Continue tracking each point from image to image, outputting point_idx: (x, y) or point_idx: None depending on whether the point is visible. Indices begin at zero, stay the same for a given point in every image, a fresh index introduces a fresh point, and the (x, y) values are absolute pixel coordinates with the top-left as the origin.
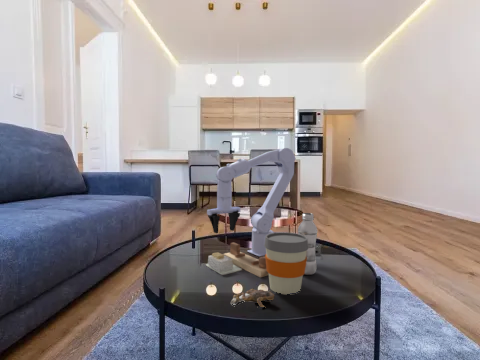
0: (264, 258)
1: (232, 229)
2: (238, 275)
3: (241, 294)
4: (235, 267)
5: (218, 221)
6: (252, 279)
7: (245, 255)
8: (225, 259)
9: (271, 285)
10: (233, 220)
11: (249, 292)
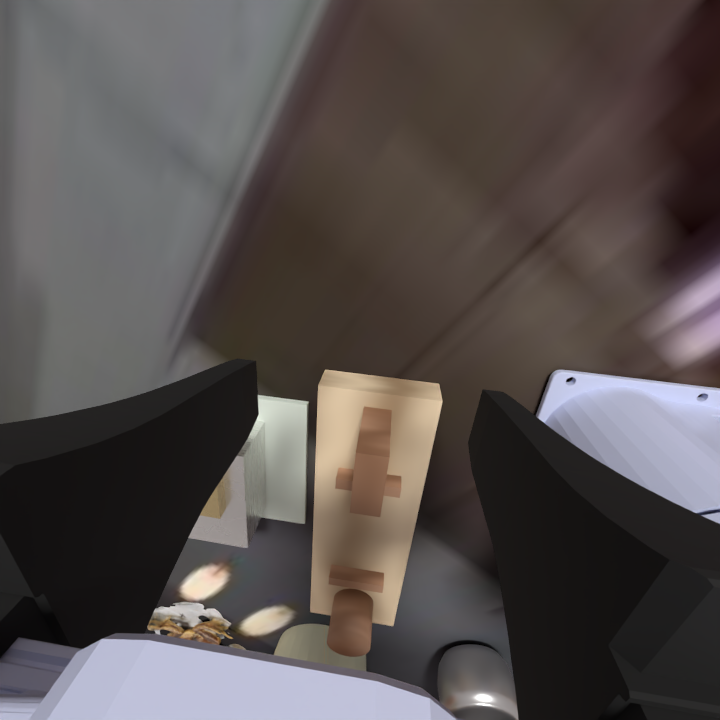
0: (346, 647)
1: (472, 448)
2: (261, 538)
3: (174, 628)
4: (291, 499)
5: (167, 564)
6: (282, 580)
7: (405, 484)
8: (217, 529)
9: (274, 653)
10: (510, 571)
11: (199, 633)
